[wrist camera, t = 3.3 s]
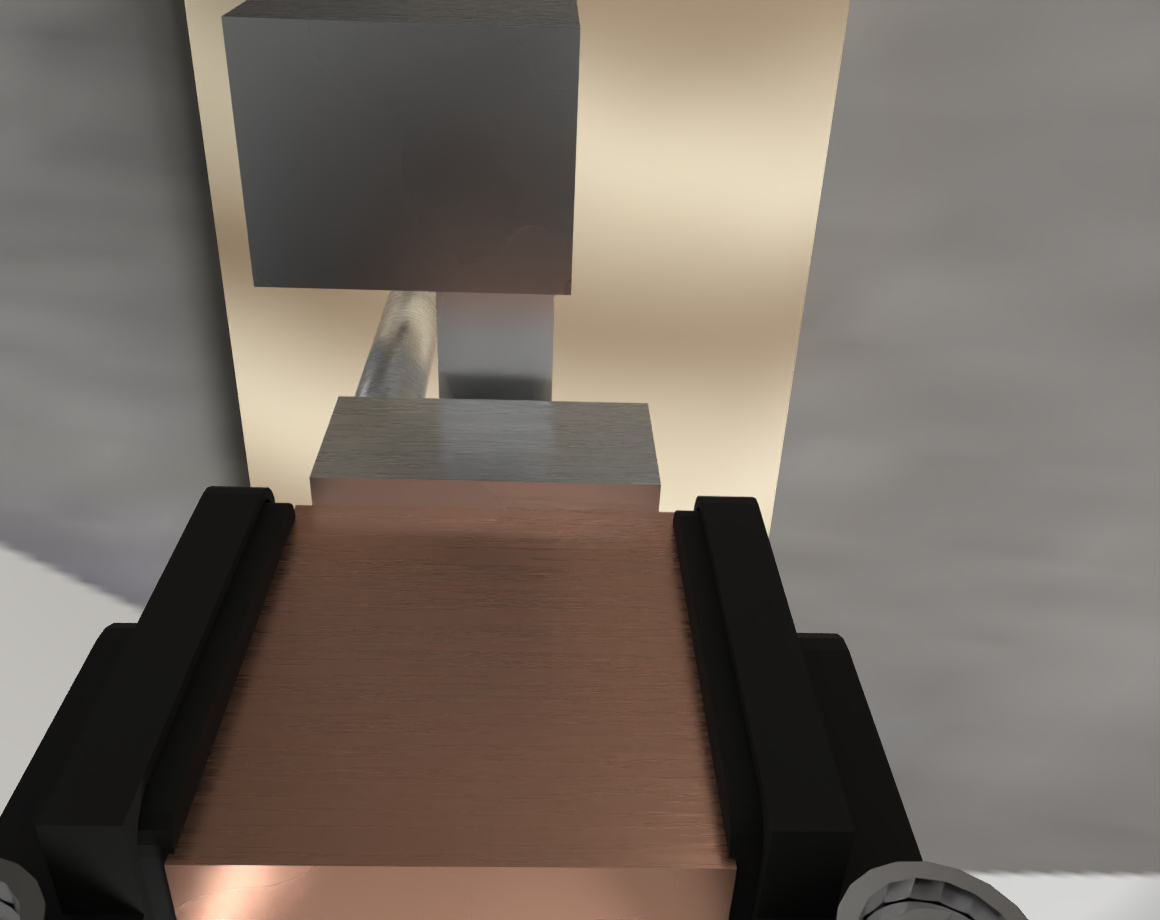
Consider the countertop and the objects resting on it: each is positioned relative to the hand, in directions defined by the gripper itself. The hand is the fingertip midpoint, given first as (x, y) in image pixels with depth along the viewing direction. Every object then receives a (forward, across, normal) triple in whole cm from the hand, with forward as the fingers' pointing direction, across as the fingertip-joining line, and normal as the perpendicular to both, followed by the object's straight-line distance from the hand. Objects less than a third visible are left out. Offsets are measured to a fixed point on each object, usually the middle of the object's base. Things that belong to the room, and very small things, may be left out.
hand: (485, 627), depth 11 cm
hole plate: (+13, 0, +1) cm, 13 cm away
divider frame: (+11, +1, +1) cm, 11 cm away
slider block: (+11, 0, 0) cm, 11 cm away
